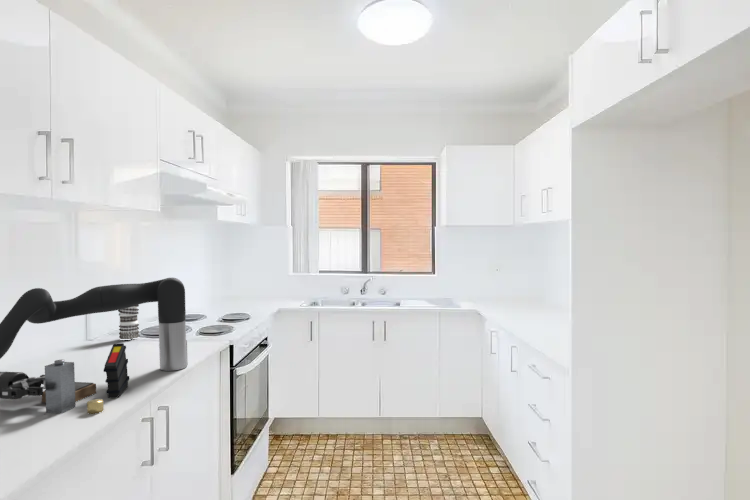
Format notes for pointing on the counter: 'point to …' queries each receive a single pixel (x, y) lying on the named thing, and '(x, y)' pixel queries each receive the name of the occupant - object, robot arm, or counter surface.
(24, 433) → the counter surface
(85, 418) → the counter surface
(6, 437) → the counter surface
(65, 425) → the counter surface
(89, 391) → the stand
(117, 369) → the black ridged block
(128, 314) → the decorative candle
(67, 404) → the block
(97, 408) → the short brass cylinder
